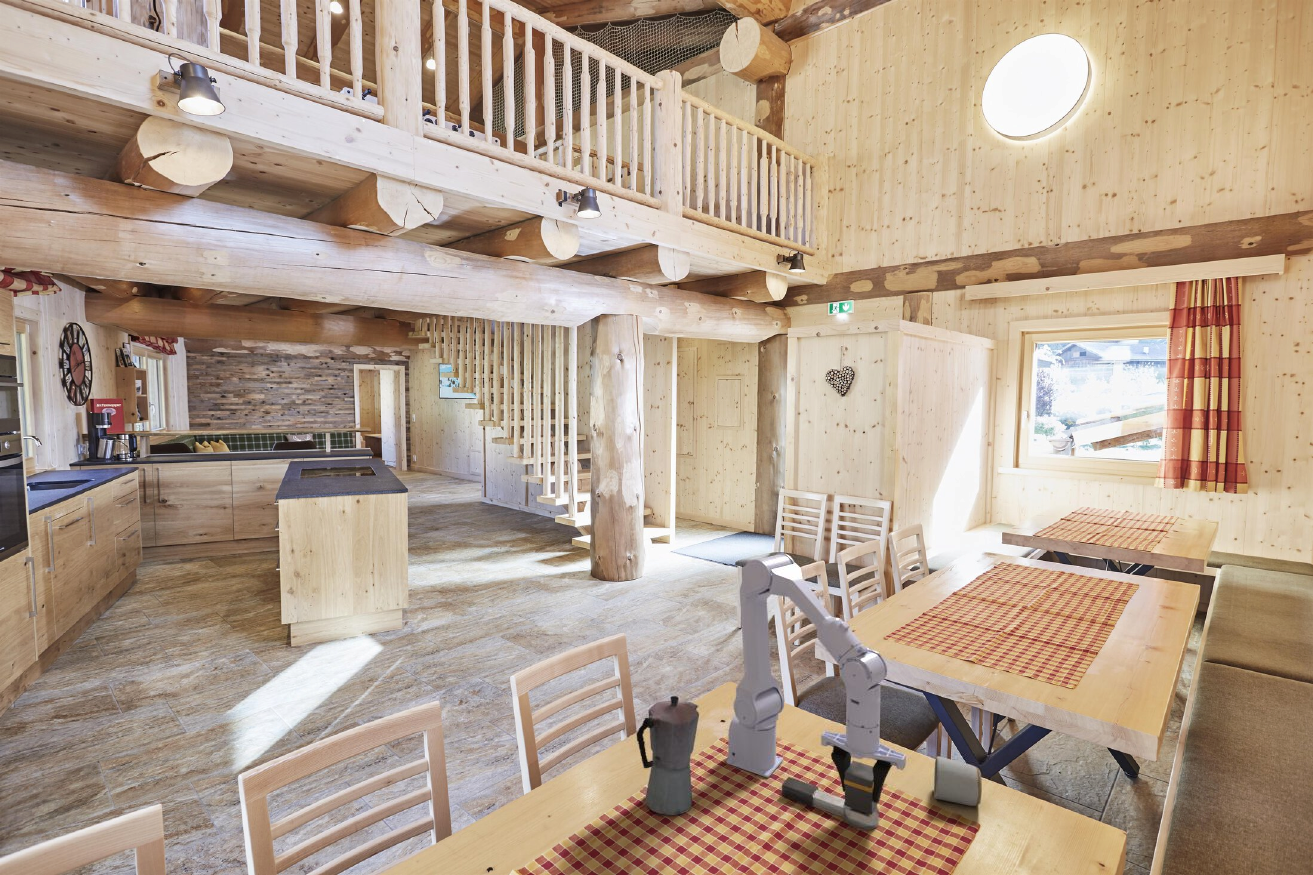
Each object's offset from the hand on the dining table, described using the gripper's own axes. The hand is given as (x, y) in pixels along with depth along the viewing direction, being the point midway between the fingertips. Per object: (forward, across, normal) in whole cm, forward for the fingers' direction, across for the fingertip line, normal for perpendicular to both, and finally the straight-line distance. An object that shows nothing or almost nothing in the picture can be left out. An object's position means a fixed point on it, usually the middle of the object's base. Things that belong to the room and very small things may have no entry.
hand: (861, 794), depth 115 cm
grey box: (+2, 0, 0) cm, 2 cm away
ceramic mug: (+5, +13, +17) cm, 22 cm away
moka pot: (+5, -31, -16) cm, 35 cm away
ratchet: (+5, -6, 0) cm, 7 cm away
